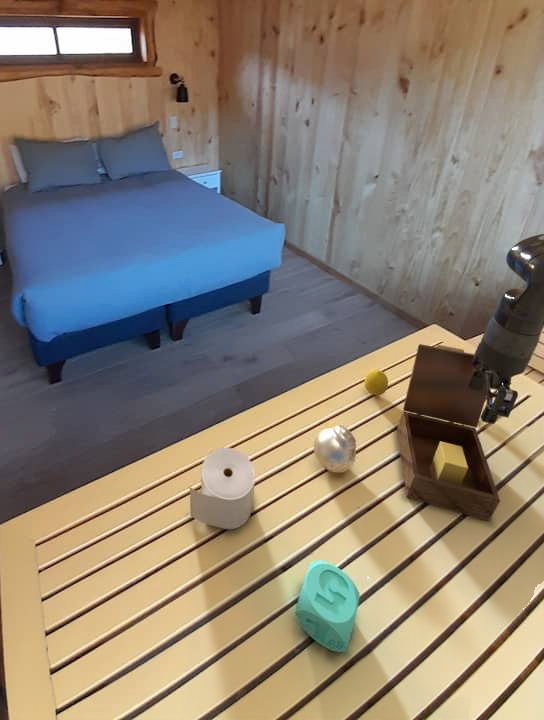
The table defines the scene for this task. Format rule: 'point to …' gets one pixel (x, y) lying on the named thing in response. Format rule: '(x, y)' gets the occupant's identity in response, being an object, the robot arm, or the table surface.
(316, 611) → the decorative dice
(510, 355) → the robot arm
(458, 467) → the block
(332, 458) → the silver round lump
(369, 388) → the lemon
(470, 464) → the chest
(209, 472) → the toilet tissue
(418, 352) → the lid
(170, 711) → the table surface
